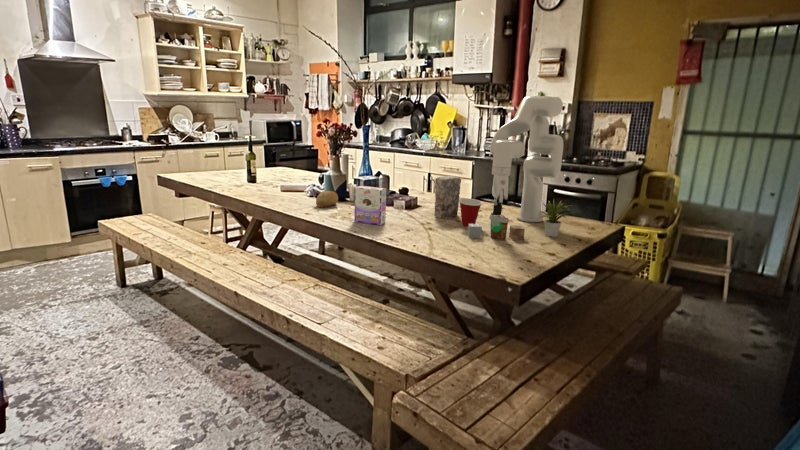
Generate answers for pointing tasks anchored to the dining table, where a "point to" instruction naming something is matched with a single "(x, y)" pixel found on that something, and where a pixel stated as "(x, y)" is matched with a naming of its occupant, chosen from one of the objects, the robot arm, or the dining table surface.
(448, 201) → the stone block
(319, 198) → the bread roll
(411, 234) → the dining table surface
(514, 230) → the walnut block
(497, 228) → the food container
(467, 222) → the plastic cup
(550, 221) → the house plant
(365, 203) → the candy box
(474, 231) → the slate-grey block
